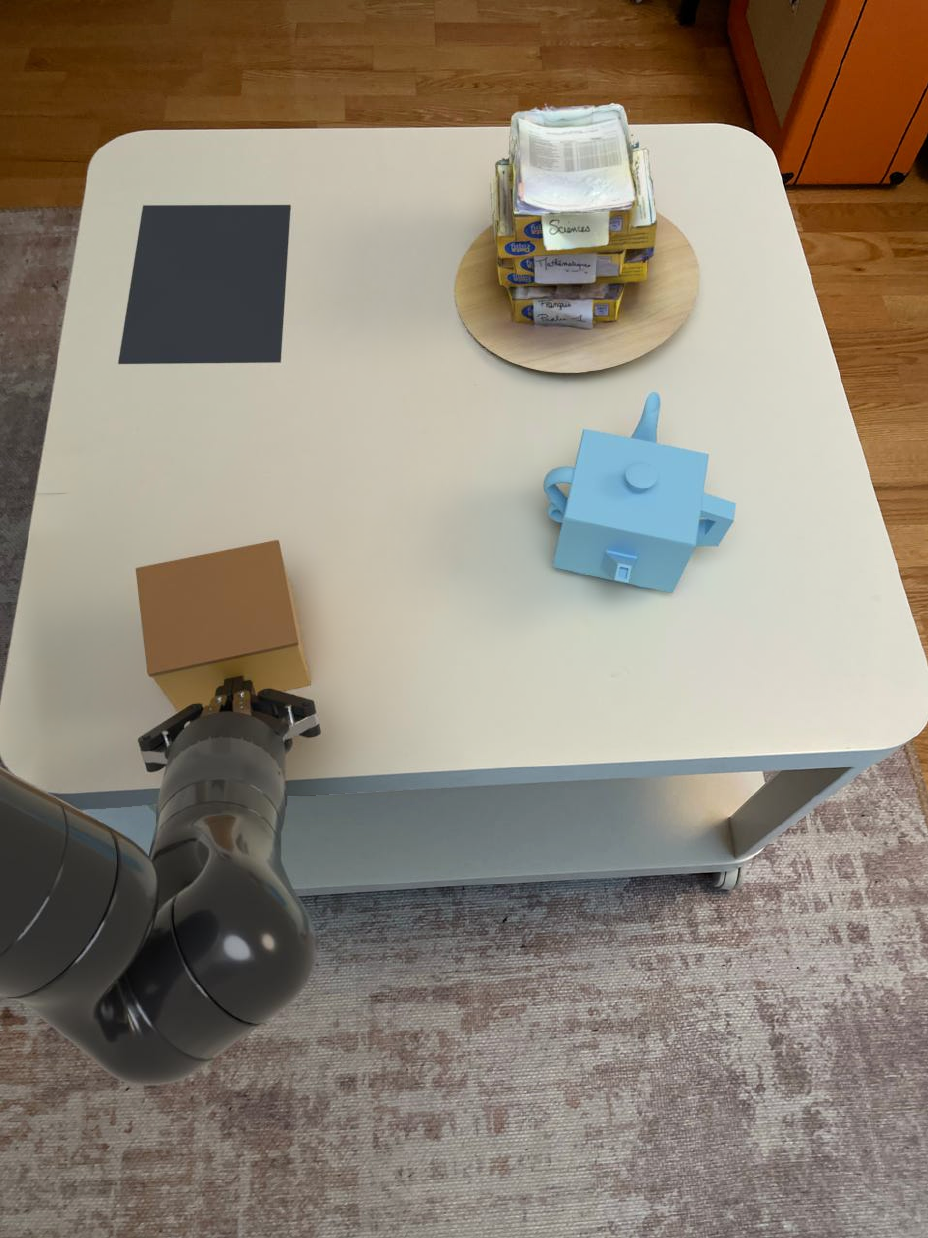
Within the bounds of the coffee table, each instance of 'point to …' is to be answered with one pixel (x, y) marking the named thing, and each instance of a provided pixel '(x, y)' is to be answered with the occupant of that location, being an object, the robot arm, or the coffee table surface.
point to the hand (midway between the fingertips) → (236, 688)
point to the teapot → (634, 507)
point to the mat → (207, 285)
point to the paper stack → (575, 248)
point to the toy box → (221, 623)
